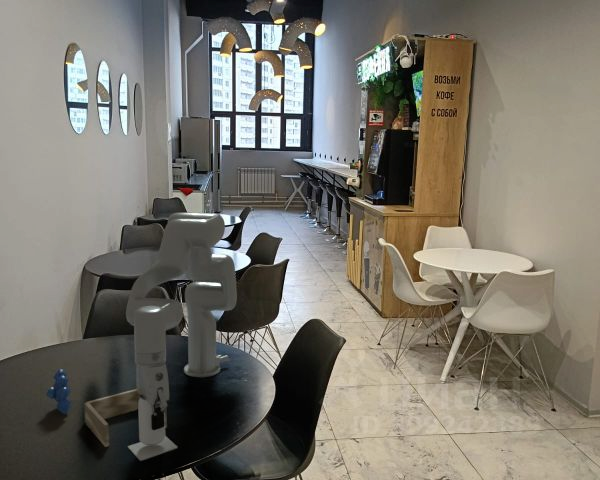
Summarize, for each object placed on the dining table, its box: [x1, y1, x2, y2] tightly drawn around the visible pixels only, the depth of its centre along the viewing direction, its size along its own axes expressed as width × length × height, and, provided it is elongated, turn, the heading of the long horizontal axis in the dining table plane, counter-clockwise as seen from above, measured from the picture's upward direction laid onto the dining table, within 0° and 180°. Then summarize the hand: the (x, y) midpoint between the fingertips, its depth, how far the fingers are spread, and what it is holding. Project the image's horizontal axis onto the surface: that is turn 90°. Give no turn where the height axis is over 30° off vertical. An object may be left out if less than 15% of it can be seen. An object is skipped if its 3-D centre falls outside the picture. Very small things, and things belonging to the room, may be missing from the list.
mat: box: [127, 435, 178, 462], centre depth 141 cm, size 10×8×1 cm
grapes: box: [45, 369, 72, 415], centre depth 158 cm, size 12×7×12 cm, turn 32°
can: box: [137, 395, 166, 445], centre depth 139 cm, size 6×6×12 cm
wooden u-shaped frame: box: [83, 388, 168, 448], centre depth 151 cm, size 17×16×6 cm
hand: (152, 422), depth 140 cm, fingers closed on can, 6 cm apart
